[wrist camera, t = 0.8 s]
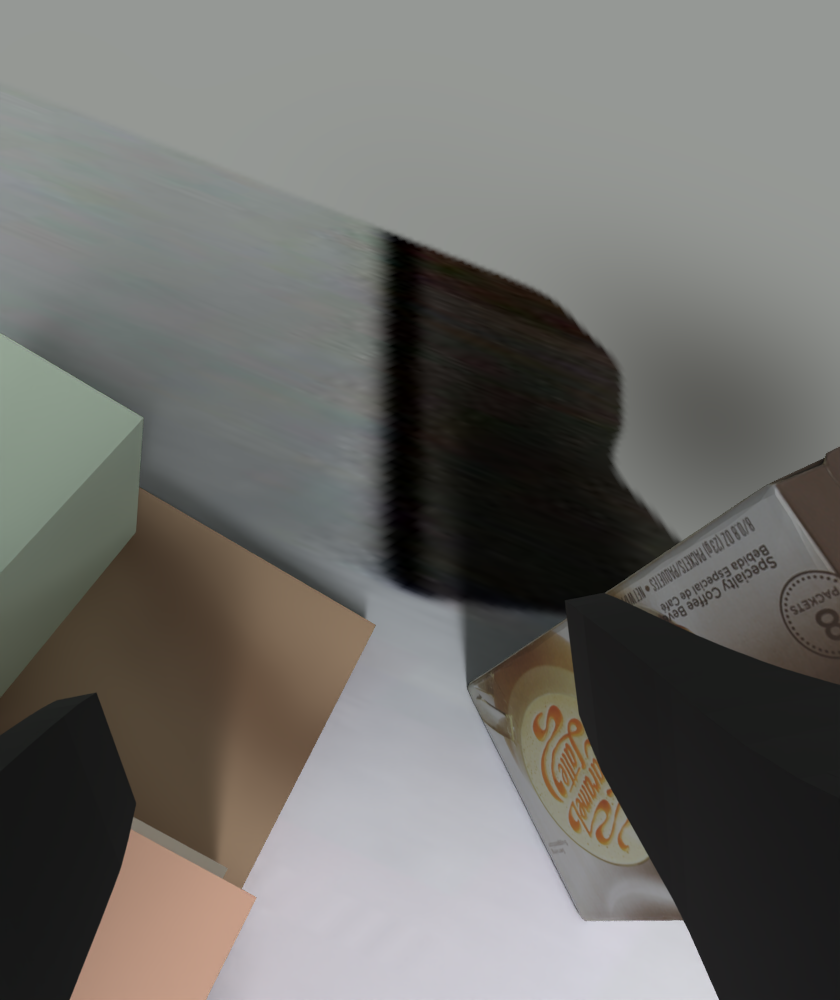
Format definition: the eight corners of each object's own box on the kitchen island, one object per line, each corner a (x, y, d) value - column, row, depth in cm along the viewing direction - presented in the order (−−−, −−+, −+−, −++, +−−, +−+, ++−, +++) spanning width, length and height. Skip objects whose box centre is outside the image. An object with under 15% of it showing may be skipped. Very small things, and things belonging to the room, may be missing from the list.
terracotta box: (118, 1085, 18) (122, 1168, 12) (-140, 953, 17) (-262, 975, 12) (221, 889, 21) (263, 882, 15) (1, 770, 20) (-43, 715, 14)
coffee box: (696, 834, 28) (1207, 768, 15) (579, 926, 25) (1101, 945, 12) (575, 623, 31) (920, 411, 18) (456, 681, 27) (770, 475, 14)
